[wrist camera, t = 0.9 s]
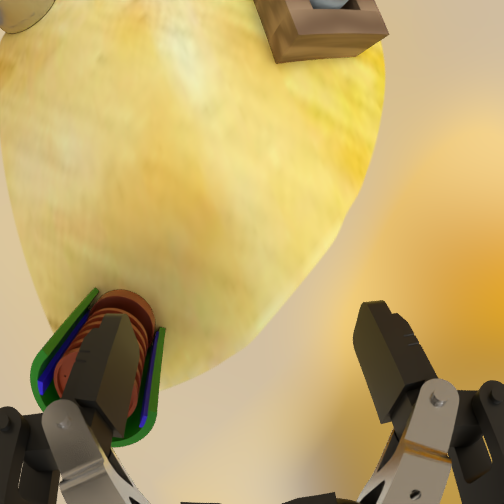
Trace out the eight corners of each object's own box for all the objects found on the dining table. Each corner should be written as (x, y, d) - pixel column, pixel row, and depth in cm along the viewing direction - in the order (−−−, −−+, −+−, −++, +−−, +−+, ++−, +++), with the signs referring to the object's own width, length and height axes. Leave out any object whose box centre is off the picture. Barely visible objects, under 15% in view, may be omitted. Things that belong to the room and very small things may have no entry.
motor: (172, 303, 35) (163, 423, 15) (155, 367, 36) (143, 499, 17) (89, 277, 32) (3, 368, 13) (78, 344, 33) (16, 457, 14)
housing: (248, -13, 29) (263, -49, 21) (325, -15, 30) (351, -44, 22) (276, 63, 32) (298, 35, 24) (355, 56, 33) (389, 34, 25)
